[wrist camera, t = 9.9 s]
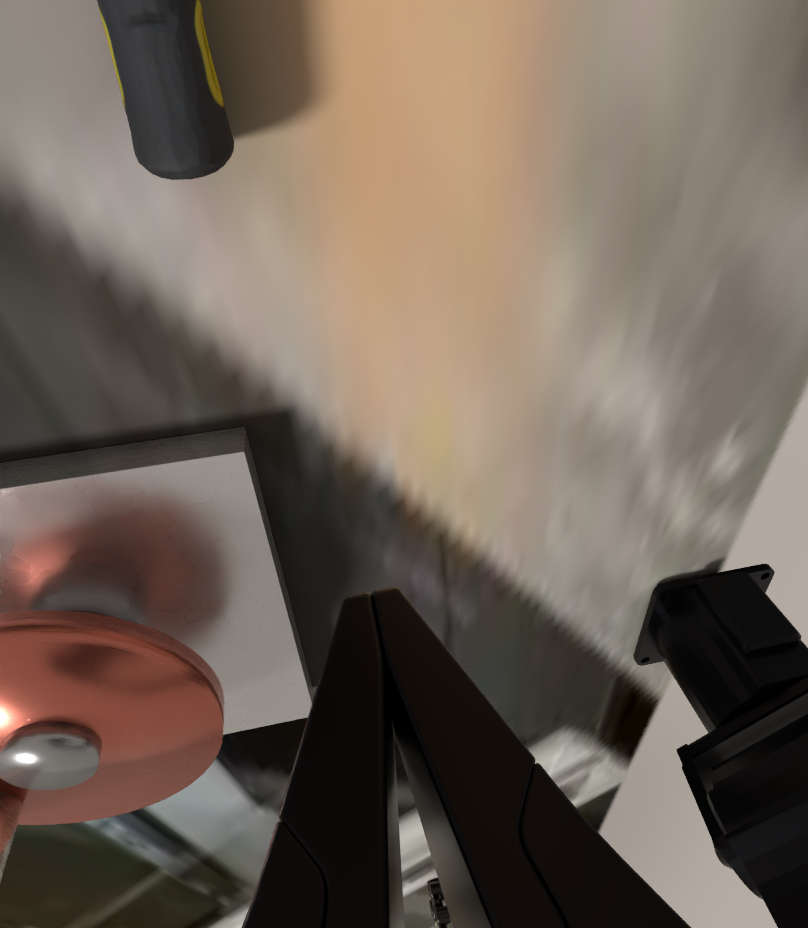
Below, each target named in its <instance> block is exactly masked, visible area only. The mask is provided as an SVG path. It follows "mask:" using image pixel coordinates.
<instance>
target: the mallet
mask: <svg viewBox="0 0 808 928" xmlns="http://www.w3.org/2000/svg"><path fill="white" fill-rule="evenodd" d="M97 1H98V6H99V11H100V15H101V19H102V22H103V26H104V29H105V33H106V36H107V40H108V43H109V47H110V51H111V55H112V59H113V63H114V67H115V71H116V75H117V79H118V83H119V86H120V90H121V94H122V101H123V104H124V108H125V111H126V114H127V117H128V122H129V126H130V130H131V135H132V141H133V147H134V151H135V155H136V157H137V159H138V161H139V163H140V164H141V165H142V166H143V167H145V168H146V169H147V170H148V171H149V172H150V173H152V174H154V175H156V176H159V177H161V178H166V179H172V180H177V179H194V178H199V177H203V176H206V175H209V174H211V173H214V172H216V171H218V170H219V169H220V168H221V167H223V166H224V165H225V164H226V162H227V161H228V160H229V158H230V157H231V155H232V153H233V149H234V140H233V137H232V134H231V130H230V127H229V123H228V120H227V116H226V113H225V108H224V103H223V98H222V93H221V90H220V86H219V83H218V79H217V76H216V72H215V69H214V65H213V61H212V57H211V53H210V49H209V45H208V41H207V37H206V32H205V27H204V22H203V17H202V8H201V4H200V1H199V0H97Z"/></svg>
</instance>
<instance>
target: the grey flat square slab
mask: <svg viewBox="0 0 808 928" xmlns="http://www.w3.org/2000/svg"><path fill="white" fill-rule="evenodd" d="M31 610H63V611H74V612H86V613H93V614H99V615H105V616H111V617H115V618H119V619H123V620H127V621H131V622H135V623H138V624H141V625H144V626H147V627H150V628H152V629H155V630H158V631H160V632H162V633H164V634H166V635H168V636H170V637H173V638H175V639H176V640H178V641H180V642H181V643H183V644H184V645H186V646H188V647H189V648H191V649H192V650H193V651H194V652H196V653H197V654H198V655H199V656H201V657H202V658H203V659H204V660H205V661H206V662H207V664H208V665H209V666H210V667H211V668H212V669H213V671H214V672H215V674H216V676H217V677H218V679H219V681H220V683H221V686H222V689H223V693H224V702H225V705H224V726H223V735H224V734H228V733H233V732H238V731H243V730H248V729H253V728H257V727H262V726H267V725H272V724H277V723H282V722H286V721H291V720H296V719H301V718H306V717H308V716H309V712H310V709H311V705H312V702H313V699H314V697H313V687H312V683H311V680H310V676H309V672H308V668H307V664H306V660H305V656H304V653H303V649H302V645H301V641H300V637H299V633H298V629H297V626H296V622H295V618H294V614H293V610H292V606H291V602H290V599H289V595H288V591H287V587H286V583H285V579H284V575H283V572H282V568H281V564H280V560H279V556H278V552H277V548H276V545H275V541H274V537H273V533H272V529H271V525H270V521H269V518H268V514H267V510H266V506H265V502H264V498H263V494H262V491H261V487H260V483H259V479H258V475H257V471H256V467H255V464H254V460H253V456H252V452H251V448H250V444H249V440H248V437H247V433H246V429H245V427H239V428H232V429H225V430H218V431H212V432H205V433H198V434H191V435H185V436H178V437H171V438H164V439H158V440H151V441H144V442H138V443H131V444H124V445H117V446H111V447H104V448H97V449H90V450H84V451H77V452H70V453H63V454H57V455H50V456H43V457H36V458H30V459H23V460H16V461H9V462H3V463H0V613H6V612H17V611H31Z"/></svg>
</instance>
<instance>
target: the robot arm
mask: <svg viewBox="0 0 808 928" xmlns="http://www.w3.org/2000/svg"><path fill="white" fill-rule="evenodd" d="M773 575H774V570H773V569H772V568H771V567H770V566H769V565H768V564H761V565H755V566H750V567H745V568H740V569H735V570H729V571H724V572H719V573H714V574H709V575H704V576H698V577H693V578H688V579H683V580H678V581H673V582H668V583H663V584H660V585H658V586H657V587H656V588H655V589H654V590H653V593H652V596H651V599H650V603H649V606H648V609H647V613H646V616H645V619H644V623H643V626H642V629H641V633H640V636H639V639H638V643H637V646H636V649H635V653H634V659H635V661H636V663H637V664H638V665H640V666H641V665H647V664H652V663H657V662H662V661H664V662H665V663H666V665H667V667H668V668H669V670H670V671H671V673H672V675H673V676H674V678H675V679H676V681H677V683H678V684H679V686H680V688H681V689H682V691H683V692H684V694H685V696H686V697H687V699H688V700H689V702H690V704H691V705H692V707H693V708H694V710H695V712H696V713H697V715H698V717H699V718H700V720H701V721H702V723H703V725H704V726H705V728H706V729H707V731H708V734H706V735H705V736H703V737H701V738H700V739H698V740H696V741H694V742H693V743H691V744H690V745H687V744H685V745H683V746H682V747H680V748H678V749H677V753H678V755H679V757H680V760H681V762H682V765H683V766H682V769H683V772H684V774H685V776H686V779H687V781H688V784H689V786H690V788H691V791H692V793H693V795H694V798H695V800H696V802H697V805H698V807H699V810H700V812H701V814H702V816H703V819H704V821H705V824H706V826H707V828H708V831H709V833H710V835H711V838H712V841H713V844H714V848H715V852H716V855H717V857H718V858H719V860H720V861H721V863H722V864H723V865H725V866H727V867H729V868H731V869H733V870H734V871H735V873H736V874H737V875H738V876H739V878H740V879H741V880H742V881H743V882H744V884H745V885H746V886H747V887H748V888H749V889H750V890H751V891H752V892H753V893H754V894H755V895H756V896H758V897H759V898H761V899H763V900H764V901H765V903H766V906H767V907H768V909H769V911H770V913H771V915H772V917H773V919H774V921H775V923H776V925H777V927H778V928H808V648H807V647H806V645H805V644H804V643H803V642H802V641H801V635H800V633H799V632H798V631H797V630H796V629H795V627H794V626H793V625H792V624H791V623H790V622H789V620H788V619H787V618H786V617H785V616H784V615H783V613H782V612H781V611H780V610H779V609H778V608H777V607H776V605H775V604H774V603H773V602H772V601H771V600H770V598H769V597H768V596H767V595H766V594H765V592H766V590H767V588H768V586H769V584H770V582H771V580H772V577H773ZM391 718H392V719H391ZM392 722H393V727H394V732H395V736H396V739H397V743H398V747H399V750H400V754H401V757H402V760H403V763H404V767H405V770H406V773H407V777H408V780H409V783H410V787H411V790H412V793H413V796H414V800H415V803H416V806H417V810H418V813H419V816H420V820H421V823H422V826H423V829H424V833H425V836H426V839H427V843H428V846H429V849H430V853H431V856H432V859H433V862H434V866H435V869H436V872H437V876H438V879H439V882H440V886H441V889H442V892H443V895H444V899H445V902H446V905H447V909H448V912H449V915H450V919H451V922H452V925H453V928H691V927H690V926H689V925H688V924H687V923H686V922H685V921H684V920H683V919H682V918H681V917H680V916H679V915H678V914H677V913H676V912H675V911H674V910H673V909H672V908H671V907H670V906H669V905H668V904H667V903H666V902H665V901H664V900H663V899H662V898H661V897H660V896H659V895H658V894H657V893H656V892H655V891H654V890H653V889H652V888H651V887H650V886H649V885H648V884H647V883H646V882H645V881H644V880H643V879H642V878H641V877H640V876H639V875H638V874H637V873H636V872H635V871H634V870H633V869H632V868H631V867H630V866H629V865H628V864H627V863H626V862H625V861H624V860H623V859H622V858H621V857H620V856H619V854H618V853H616V851H615V850H614V849H613V848H612V847H611V846H610V845H609V844H608V843H607V842H606V841H605V840H604V839H603V837H602V836H601V835H600V834H599V833H598V832H597V831H596V830H595V829H594V828H593V827H592V826H591V825H590V824H589V823H588V822H587V820H586V819H585V818H584V817H583V816H582V815H581V813H580V812H579V811H578V810H577V809H576V807H575V806H574V805H573V804H572V803H571V802H570V800H569V799H568V798H567V797H566V796H565V795H564V793H563V792H562V791H561V790H560V789H559V787H558V786H557V785H556V784H555V782H554V781H553V780H552V779H551V777H550V776H549V775H548V774H547V772H546V771H545V770H544V769H543V767H542V766H541V765H540V764H538V763H536V764H535V758H534V757H533V755H532V754H531V753H530V752H529V750H528V749H527V748H526V747H525V745H524V744H523V743H522V742H521V740H520V739H519V738H518V737H517V735H516V734H515V733H514V732H513V730H512V729H511V728H510V727H509V725H508V724H507V723H506V722H505V720H504V719H503V718H502V717H501V715H500V714H499V713H498V712H497V710H496V709H495V708H494V707H493V705H492V704H491V703H490V702H489V700H488V699H487V698H486V697H485V695H484V694H483V693H482V692H481V690H480V689H479V688H478V687H477V685H476V684H475V683H474V682H473V680H472V679H471V678H470V676H469V675H468V674H467V673H466V671H465V670H464V669H463V668H462V666H461V665H460V664H459V663H458V661H457V660H456V659H455V658H454V656H453V655H452V654H451V653H450V651H449V650H448V649H447V648H446V646H445V645H444V644H443V643H442V641H441V640H440V639H439V638H438V636H437V635H436V634H435V633H434V631H433V630H432V629H431V628H430V626H429V625H428V624H427V623H426V621H425V620H424V619H423V618H422V616H421V615H420V614H419V613H418V611H417V610H416V609H415V608H414V606H413V605H412V604H411V603H410V601H409V600H408V599H407V598H406V596H405V595H404V594H403V593H402V591H401V590H400V589H398V588H397V587H390V588H384V589H379V590H375V591H373V592H372V597H371V594H370V593H368V592H363V593H357V594H352V595H347V596H345V597H344V599H343V601H342V604H341V607H340V611H339V614H338V617H337V621H336V624H335V627H334V631H333V634H332V638H331V641H330V644H329V648H328V651H327V655H326V658H325V661H324V665H323V668H322V672H321V675H320V678H319V682H318V685H317V688H316V692H315V695H314V699H313V702H312V705H311V709H310V712H309V716H308V719H307V722H306V726H305V729H304V733H303V736H302V739H301V743H300V746H299V749H298V753H297V756H296V760H295V763H294V766H293V770H292V773H291V777H290V780H289V783H288V787H287V790H286V794H285V797H284V800H283V804H282V807H281V810H280V814H279V819H280V821H279V822H277V824H276V826H275V830H274V833H273V836H272V840H271V843H270V847H269V850H268V853H267V856H266V859H265V863H264V866H263V869H262V872H261V875H260V878H259V881H258V884H257V887H256V890H255V893H254V896H253V899H252V902H251V905H250V907H249V910H248V913H247V915H246V918H245V920H244V923H243V926H242V928H404V910H403V892H402V874H401V856H400V838H399V820H398V802H397V783H396V765H395V748H394V736H393V727H392Z"/></svg>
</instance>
